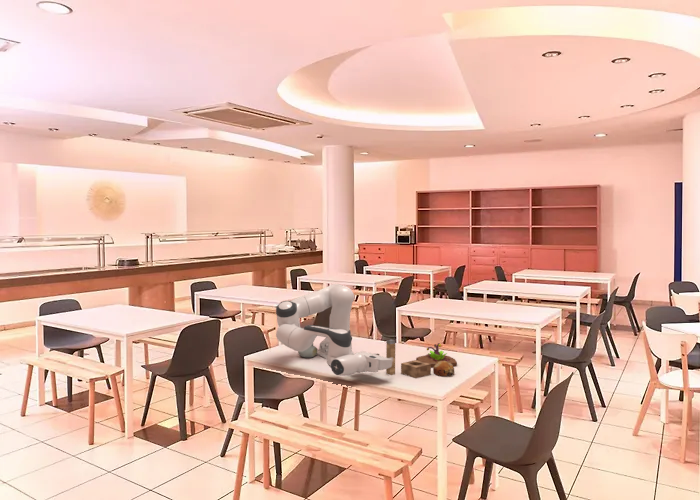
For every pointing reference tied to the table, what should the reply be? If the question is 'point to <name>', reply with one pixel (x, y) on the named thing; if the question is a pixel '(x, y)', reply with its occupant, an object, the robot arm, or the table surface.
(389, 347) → the upright wooden post
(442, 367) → the bread roll
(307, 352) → the air freshener
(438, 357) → the plant
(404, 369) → the square wooden socket base
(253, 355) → the table surface
